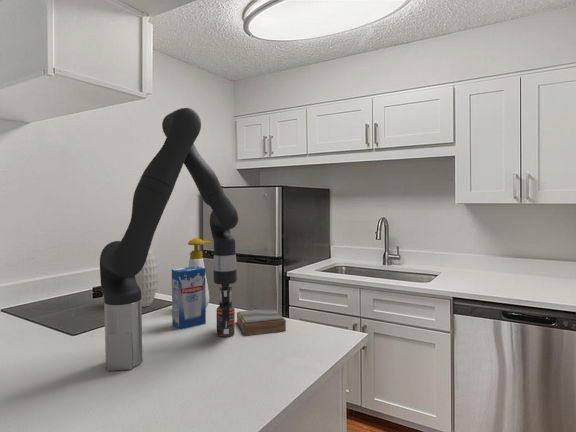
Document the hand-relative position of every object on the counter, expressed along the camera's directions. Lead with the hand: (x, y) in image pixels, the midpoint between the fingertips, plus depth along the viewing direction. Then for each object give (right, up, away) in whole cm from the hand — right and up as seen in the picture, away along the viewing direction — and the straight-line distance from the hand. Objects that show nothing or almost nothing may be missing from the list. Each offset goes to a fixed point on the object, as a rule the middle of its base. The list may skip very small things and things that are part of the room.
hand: (226, 316), depth 124 cm
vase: (-41, -5, +34) cm, 53 cm away
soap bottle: (-16, -5, +28) cm, 32 cm away
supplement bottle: (0, -6, 0) cm, 6 cm away
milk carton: (-15, -6, +10) cm, 19 cm away
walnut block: (+11, -5, +8) cm, 14 cm away
